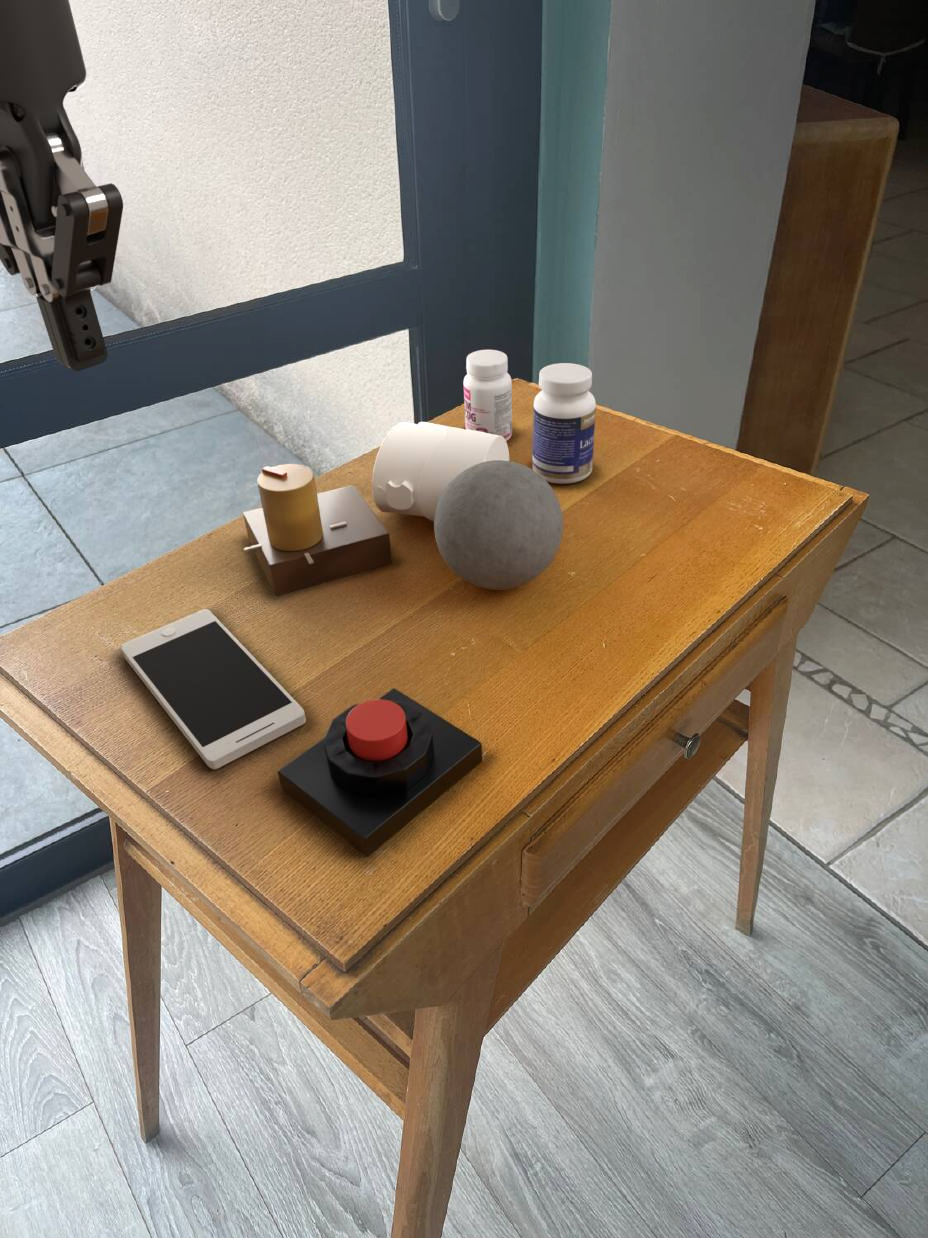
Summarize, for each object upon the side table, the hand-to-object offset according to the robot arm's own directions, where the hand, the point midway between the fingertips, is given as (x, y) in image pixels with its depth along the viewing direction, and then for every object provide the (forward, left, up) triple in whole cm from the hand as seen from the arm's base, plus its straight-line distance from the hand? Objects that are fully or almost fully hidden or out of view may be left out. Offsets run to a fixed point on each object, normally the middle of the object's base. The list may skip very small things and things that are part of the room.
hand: (84, 363), depth 50 cm
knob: (+12, +13, -22) cm, 28 cm away
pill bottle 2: (+39, +17, -25) cm, 49 cm away
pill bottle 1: (+36, +27, -25) cm, 52 cm away
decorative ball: (+26, +4, -25) cm, 36 cm away
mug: (+27, +16, -25) cm, 40 cm away
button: (+10, -12, -22) cm, 27 cm away
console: (+14, +14, -25) cm, 32 cm away
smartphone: (+2, +1, -25) cm, 25 cm away
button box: (+10, -12, -25) cm, 30 cm away
